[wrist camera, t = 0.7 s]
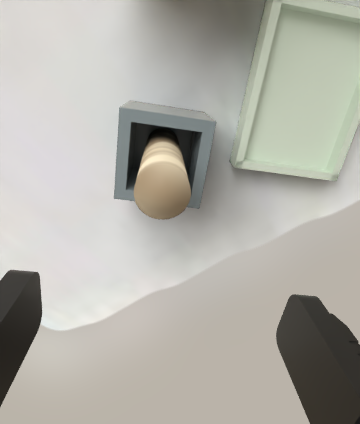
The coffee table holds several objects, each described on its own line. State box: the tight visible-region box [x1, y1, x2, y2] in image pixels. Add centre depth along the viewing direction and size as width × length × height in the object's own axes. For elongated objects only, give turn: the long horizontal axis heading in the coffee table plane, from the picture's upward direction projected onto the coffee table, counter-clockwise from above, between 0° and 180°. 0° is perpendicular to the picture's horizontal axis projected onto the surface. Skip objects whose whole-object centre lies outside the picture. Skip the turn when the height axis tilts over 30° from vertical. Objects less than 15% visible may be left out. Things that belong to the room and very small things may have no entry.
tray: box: [230, 0, 360, 181], centre depth 30 cm, size 16×12×2 cm
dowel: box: [134, 128, 191, 219], centre depth 25 cm, size 4×4×15 cm
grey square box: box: [114, 101, 216, 209], centre depth 29 cm, size 8×8×8 cm
